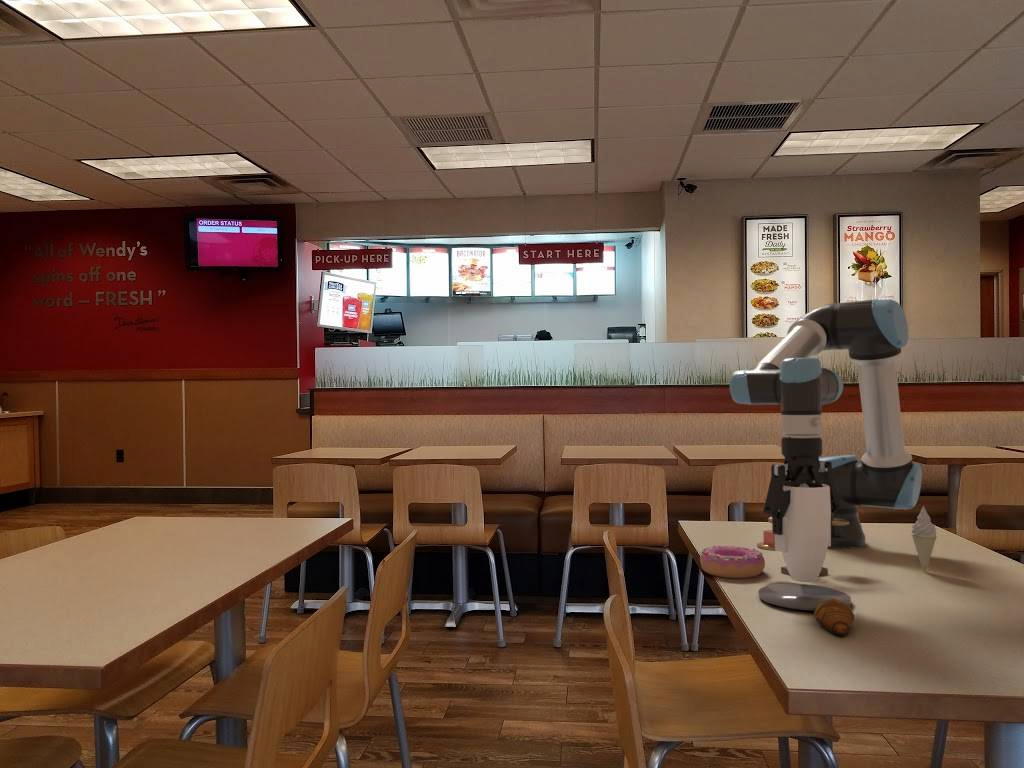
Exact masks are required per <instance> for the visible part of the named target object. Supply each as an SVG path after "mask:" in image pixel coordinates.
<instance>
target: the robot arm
mask: <svg viewBox="0 0 1024 768" xmlns="http://www.w3.org/2000/svg"><path fill="white" fill-rule="evenodd" d="M908 332H909V326H908V321H907V318H906V314H905V311H904V309H903V307H902V306H901V304H900V303H899V302H898V301H896V300H894V299H878V298H877V299H876V298H875V299H866V300H859V301H858V300H856V301H846V302H836V303H835V302H833V303H829V304H824V305H821V306H819V307H816V308H815V309H813V310H810V311H808V312H806V313H805V314H803V315H802V316H800V317H798V319H797V320H794V322H793V323H792V324H791V325H790V326H789V328H788V330H787V333H786V335H785V336H784V337H783V339H781V340H780V341H779V342H778V343H777V344H776V345H775V347H773V349H771V350H770V351H769V352H768V353H766V355H765V356H764V357H763V358H761V360H760V361H759V362H758V363H757V364H756V365H755V366H754V367H753V368H752V369H743V370H742V369H741V370H736V371H734V372H733V373H732V374H731V377H730V381H729V393H730V396H731V398H732V401H733V402H735V403H737V404H739V405H740V404H741V405H749V406H752V405H780V433H781V434H782V435H783V437H782V438H781V441H780V442H781V445H780V447H781V451H780V452H781V454H782V456H783V457H784V461H783V464H777V463H774V464H771V468H770V469H771V470H770V471H771V476H770V477H771V478H770V482H769V485H768V490H767V494H766V498H765V502H764V507H763V510H762V511H763V514H764V515H767V516H769V517H772V523H771V526H772V525H773V534H775V550H776V551H775V552H780V553H782V552H784V553H787V552H788V518H784V516H785V513H786V511H787V509H788V507H789V504H790V496H791V490H788V491H784V490H783V486H789V487H799V486H800V484H807V485H808V486H809V488H817V487H823V486H822V484H826V485H828V486H829V487H830V503H831V523H830V538H829V542H828V547H827V548H831V549H832V548H833V549H834V548H835V549H855V548H862V547H865V546H866V534H865V533H864V530H863V527H862V523H861V521H860V518H859V514H858V513H859V511H858V508H859V506H860V507H870V508H880V509H881V508H882V509H891V510H892V509H893V510H911V509H913V508H914V507H915V506H916V504H917V503H918V500H919V496H920V493H921V488H922V481H923V479H922V478H923V469H922V466H921V464H918V463H917V462H916V463H914V462H913V457H912V454H911V453H910V452H909V451H907V450H906V449H905V443H904V434H903V424H902V415H901V413H902V412H901V405H900V393H899V385H898V375H897V365H896V360H897V358H898V357H899V356H900V355H901V354H902V348H904V347H906V346H907V344H908V341H909V333H908ZM831 350H832V351H833V350H848V356H849V359H850V360H851V361H852V362H854V363H855V364H856V368H857V369H856V370H857V375H858V376H857V377H858V384H859V385H858V386H859V394H860V402H861V403H860V404H861V412H862V413H861V414H862V420H863V421H862V422H863V428H864V439H865V446H866V447H865V448H866V452H865V453H863V455H862V456H861V458H860V459H861V460H859V458H858V456H857V455H856V454H847V455H846V454H844V455H834V456H824V457H823V456H822V455H823V439H822V438H821V436H820V435H822V430H823V429H822V427H823V426H822V411H823V410H822V406H826V405H828V404H832V403H834V402H835V401H837V400H838V399H839V398H840V397H841V396H842V393H843V391H844V382H843V380H842V377H841V376H840V375H839V374H838V373H837V372H836V371H835V370H833V369H830V368H829V369H828V368H827V367H822V365H821V363H822V362H821V360H820V359H819V358H817V357H814V356H817V355H819V354H820V353H821V352H823V351H831ZM832 501H833V502H832ZM779 510H780V511H779ZM832 513H833V514H834V518H839V519H845V520H848V521H849V525H844V526H832Z"/></svg>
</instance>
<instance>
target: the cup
mask: <svg viewBox="0 0 1024 768" xmlns="http://www.w3.org/2000/svg"><path fill="white" fill-rule="evenodd" d="M822 486H823V487H817V488H809V486H808V485H807V484H800V486H799V487H789V486H783V490H784V491H788V490H791V496H790V504H789V507H788V509H787V511H786V513H785V516H784V518H788V552H787V553H784V552H781V554H782V557H783V561H784V563H785V566H786V567H787V570H788V572H789V574H790V575H789V576H790V579H791V580H792V581H794V582H800V583H814V582H817V580H818V578H819V576H820V575H819V574H820V572H821V569H822V567H824V566H823V565H824V564H825V560H826V557H827V550H828V548H829V547H828V542H829V538H830V523H831V503H830V487H829V486H828V485H826V484H822ZM779 511H780V510H779Z"/></svg>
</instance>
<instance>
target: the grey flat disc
mask: <svg viewBox="0 0 1024 768" xmlns="http://www.w3.org/2000/svg"><path fill="white" fill-rule="evenodd" d="M757 595H758V597H759V598H760V599H761V600H762V601H764V602H766V603H768V604H772V605H773V606H778V607H783V608H788V609H792V610H793V609H794V610H802V611H803V610H804V611H813V612H815V610H816V608H817V606H818V604H819V603H821V602H824V601H827V600H831V599H836V600H838V601H840V602H843V603H845V604H847V605H849V606H850V605H851V603H852V598H851V596H850V595H849V594H847V593H846V592H844V591H840V590H838V589H835V588H831V587H827V586H823V585H815V584H807V583H776V584H770V585H766V586H763V587H761V588H759V589H758V594H757Z"/></svg>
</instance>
